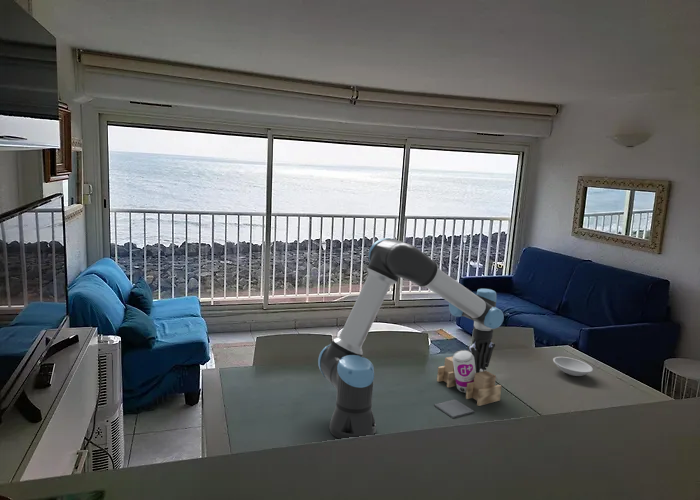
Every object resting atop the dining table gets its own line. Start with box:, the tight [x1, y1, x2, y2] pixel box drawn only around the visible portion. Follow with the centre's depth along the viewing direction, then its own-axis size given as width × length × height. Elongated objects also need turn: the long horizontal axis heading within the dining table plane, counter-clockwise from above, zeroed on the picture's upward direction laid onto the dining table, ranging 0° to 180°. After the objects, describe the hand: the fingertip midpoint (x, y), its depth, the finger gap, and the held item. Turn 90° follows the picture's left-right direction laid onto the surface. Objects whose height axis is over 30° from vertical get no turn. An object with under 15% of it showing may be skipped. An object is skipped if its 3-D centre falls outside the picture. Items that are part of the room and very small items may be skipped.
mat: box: [433, 399, 475, 419], centre depth 178 cm, size 10×10×1 cm
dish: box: [552, 356, 594, 377], centre depth 215 cm, size 18×14×5 cm
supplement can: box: [452, 349, 476, 394], centre depth 192 cm, size 8×8×15 cm
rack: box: [436, 355, 502, 407], centre depth 194 cm, size 11×24×10 cm, turn 30°
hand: (477, 384), depth 197 cm, fingers closed
